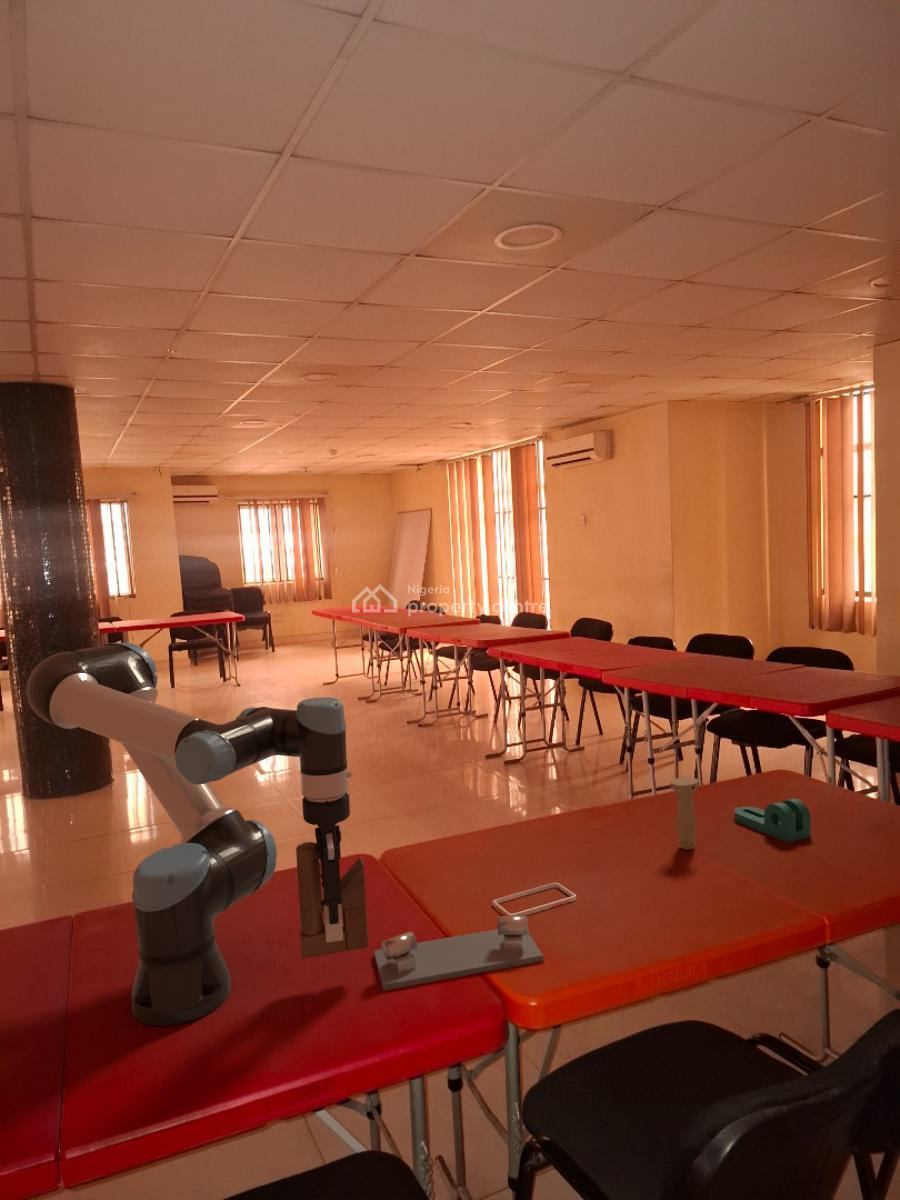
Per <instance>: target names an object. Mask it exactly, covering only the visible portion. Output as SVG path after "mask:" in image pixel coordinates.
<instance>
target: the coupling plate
mask: <svg viewBox="0 0 900 1200" xmlns="http://www.w3.org/2000/svg"><path fill="white" fill-rule="evenodd" d="M503 940H504V935H498V928H495V929H490V930H483V931H479V932H471V933H467V934H460V935H455V936H450V937H443V938H438V939H437V938H436V939H432V940H426V941H421V942H417V949H416V950H414V951H411V952H410V953H412V954H413V955H414V956H415V963H416V968H415V969H412V970H410V971H407V972H405V973H402V974H400V975H398V974H397V973H396V972H395V971H394V970H393V969H392V968H391V967H390V966H388V965H387V964H386V958H385V956H384V954H383V951H382V948H380V949H376V950H373V951H374V952H373V953H374V959H375V964H376V967H377V971H378V976H379V978H380V982H381V988H382V990H383V992H384V991H388V990H389V991H390V990H394V989H400V988H405V987H406V988H407V987H412V986H416V985H417V986H418V985H422V984H427V983H432V982H437V981H443V980H448V979H449V980H450V979H454V978H460V977H466V976H471V975H475V974H483V973H487V972H491V971H497V970H498V971H499V970H502V969H509V968H513V967H519V966H524V965H529V964H535V963H541V962H544V961H545V960H544V959H545V958H544V954H543V953H542V951H541V950H540V948H539V947H538V945H537V943H536V942H535V940H534V939H533V938H532V936H531V935H530V933H529V932H528V935H524V944H523V952H504V943H503Z"/></svg>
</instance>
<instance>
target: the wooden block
mask: <svg viewBox="0 0 900 1200" xmlns="http://www.w3.org/2000/svg"><path fill="white" fill-rule="evenodd" d="M295 852H296V853H295V855H296V867H297V868H296V869H297V887H298V903H299V920H300V921H299V922H300V929H299V943H300V944H299V945H300V951H301V958H302V959H303V960H304V959H309V958H316V957H320V956H326V955H331V954H338V953H345V952H346V951H347V952H351V951H356V950H363V949H367V948H369V940H368V939H369V934H368V917H367V915H368V914H367V902H366V901H367V900H366V899H367V898H366V881H365V880H366V878H365V865H364V862H363V860H362V857H361V856H359V858H357V860H356V861H355V862H354V863H353V864H352V865H351V867H350V868H349V869H348V870H347V871H346V872H345V874H344V875H343V876H342V877H341V878H340V884H341V898H342V903H341V909H342V926H343V940H340V941H334V942H327V943H326V931H325V924H324V914H323V913H324V905H322V906H321V905H320V901H322V900H323V897H322V879H321V862H320V860H319V851H318V845H317V842H313V841H307V842H302V843H299V844H297V846H296V848H295Z"/></svg>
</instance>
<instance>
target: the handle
mask: <svg viewBox="0 0 900 1200" xmlns="http://www.w3.org/2000/svg"><path fill="white" fill-rule="evenodd" d="M699 786H700V780H699V779H697V777H690V776H685V777H678V778H674V779H672V780H671V781H670V789H672V790H673V791H676V794H677V803H676V804H677V809H676V810H677V811H676V827H677V836H678V841H679V842H678V845H679V847H680V849H684V850H685V851H686V850H693V849H694V848H695V845H696V844H695V843H696V841H695V840H696V833H697V832H696V829H697V825H696V824H697V823H696V813H695V803H694V791H696V790H697V789H698V788H699Z"/></svg>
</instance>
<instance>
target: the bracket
mask: <svg viewBox="0 0 900 1200" xmlns="http://www.w3.org/2000/svg"><path fill="white" fill-rule="evenodd" d="M733 814H734V821H735V822H736V823H739V824H741V825H743V826H745V827H748V828H751V829H753V830H756V831H757V832H760V833H762V834H764V835H767V836H771V837H772V838H775V839H778V840H780V841H783V842H785V843H788V844H790V843H794V842H797V841H801V840H804V839H807V838H811V836H812V834H811V814H810V811H809V808H808V807H807V806H806V803H804V801H802V800H800V799H798V798H795V797H794V798H790V799H786V800H783V801H779V802H775V803H771V804H768V805H766V807H765V809H761V808H758V807H754V806H740V807H736V808H734V813H733Z"/></svg>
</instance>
